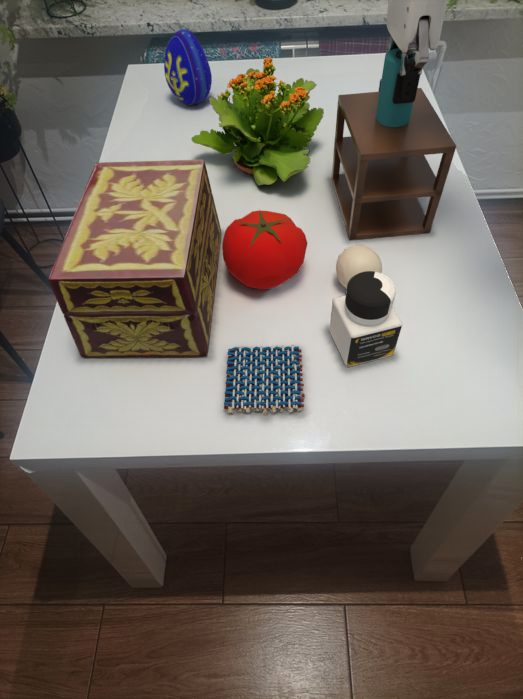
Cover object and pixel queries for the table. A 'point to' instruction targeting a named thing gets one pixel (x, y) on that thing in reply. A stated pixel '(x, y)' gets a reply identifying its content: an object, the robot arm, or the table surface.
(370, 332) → the medicine bottle
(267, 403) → the woven mat
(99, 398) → the table surface
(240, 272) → the tomato
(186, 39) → the ornament
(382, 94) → the teal cylinder
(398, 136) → the rack
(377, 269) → the cream round ball
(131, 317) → the decorative box
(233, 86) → the potted flower
